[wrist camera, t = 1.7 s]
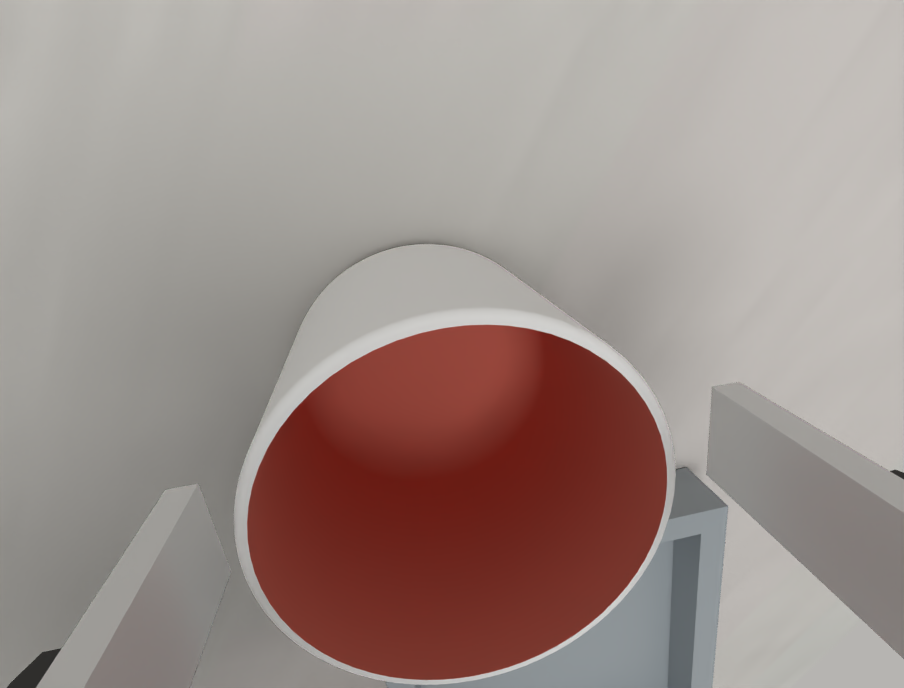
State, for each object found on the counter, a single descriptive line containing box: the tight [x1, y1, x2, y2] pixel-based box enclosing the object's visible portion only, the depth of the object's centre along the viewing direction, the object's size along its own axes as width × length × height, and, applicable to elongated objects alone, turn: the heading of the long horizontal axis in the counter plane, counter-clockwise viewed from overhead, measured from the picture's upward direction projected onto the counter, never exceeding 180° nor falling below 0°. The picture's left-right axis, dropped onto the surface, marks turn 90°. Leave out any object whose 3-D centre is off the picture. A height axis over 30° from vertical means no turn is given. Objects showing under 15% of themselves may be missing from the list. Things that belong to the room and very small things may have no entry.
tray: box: [386, 467, 728, 688], centre depth 25 cm, size 16×16×3 cm
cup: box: [234, 244, 676, 685], centre depth 16 cm, size 10×10×10 cm
